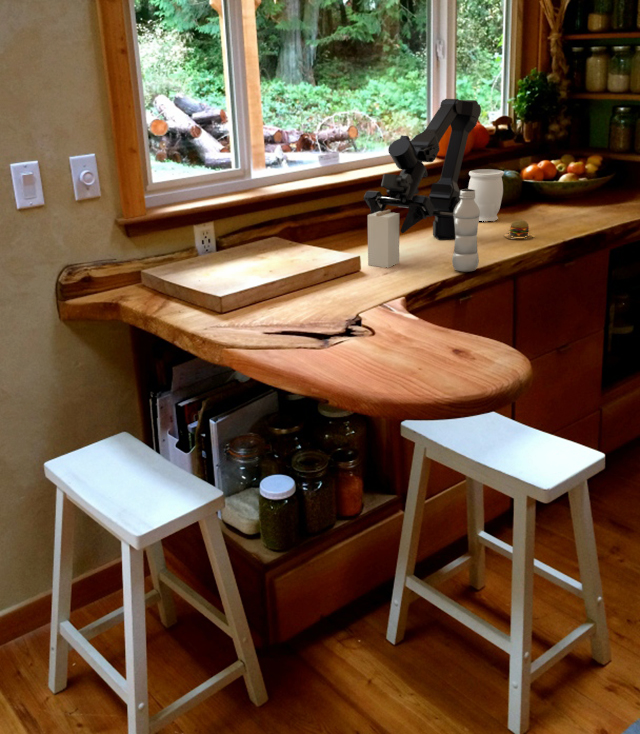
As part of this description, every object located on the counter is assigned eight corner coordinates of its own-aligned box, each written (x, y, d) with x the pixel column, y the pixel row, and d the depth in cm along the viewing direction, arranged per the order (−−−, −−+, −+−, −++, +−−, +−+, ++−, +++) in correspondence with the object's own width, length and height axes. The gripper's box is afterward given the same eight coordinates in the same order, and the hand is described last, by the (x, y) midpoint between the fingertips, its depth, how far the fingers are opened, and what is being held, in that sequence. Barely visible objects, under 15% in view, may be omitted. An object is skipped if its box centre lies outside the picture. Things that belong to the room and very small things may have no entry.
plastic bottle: (462, 276, 200) (465, 193, 192) (446, 270, 206) (448, 189, 198) (483, 272, 203) (487, 190, 195) (467, 266, 208) (469, 186, 201)
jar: (506, 218, 259) (508, 169, 253) (494, 224, 251) (496, 175, 245) (474, 215, 264) (476, 168, 259) (462, 221, 256) (463, 173, 251)
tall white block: (379, 260, 217) (379, 208, 211) (399, 263, 213) (399, 210, 208) (368, 265, 212) (367, 212, 207) (387, 268, 209) (387, 214, 204)
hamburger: (505, 245, 229) (506, 226, 227) (492, 236, 240) (492, 217, 238) (546, 242, 230) (548, 223, 228) (531, 233, 241) (532, 214, 239)
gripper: (366, 159, 214) (343, 208, 209) (429, 163, 203) (406, 215, 199) (383, 185, 222) (360, 233, 218) (444, 190, 212) (422, 241, 208)
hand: (386, 230), depth 211 cm, fingers open, 9 cm apart
